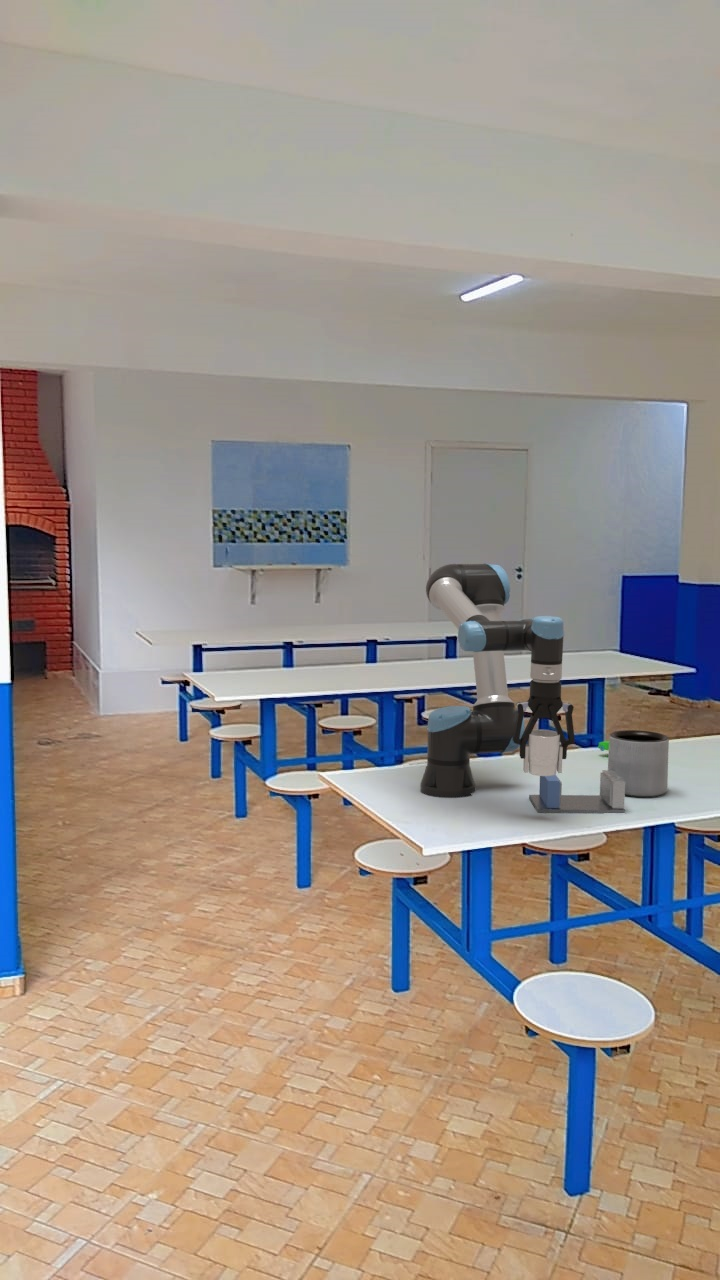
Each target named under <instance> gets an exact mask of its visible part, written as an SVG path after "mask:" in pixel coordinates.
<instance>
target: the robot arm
mask: <svg viewBox="0 0 720 1280" xmlns="http://www.w3.org/2000/svg"><path fill="white" fill-rule="evenodd" d="M427 579H428V580H426V581H427V582H426V585H425V593H426V597H427V599H428V601H429V602H430V604H431V605H432V606H433V607H434V608H435V609H438V610H440V611H442V612H443V613H444V614H445V616H446V617H447V618H448V619H449V620H450V622H451V623H452V624H453V625H454V627H456V628H457V630H458V632H457V639H458V643H459V647H460V649H461V650H462V651H464V652H472V657H473V665H474V667H473V668H474V676H475V677H474V678H475V679H474V680H475V688H476V697H477V699H476V702H474V703H473V704H472V710H471V708H470V707H469V706H466V705H450V706H445V707H440V708H439V707H438V708H436V709H434V710H433V711H431V712H430V713H429V714H428V721H427V726H426V727H427V728H426V730H427V752H426V753H427V759H426V760H427V761H426V763H427V764H426V765H425V769H424V773H423V776H422V777H421V781H420V793H421V794H423V795H426V796H428V797H434V798H441V799H442V798H443V799H444V798H445V799H457V798H466V797H471V796H473V794H474V793H475V792H476V782H475V778H474V776H473V773H472V769H471V765H470V758H471V755H474V754H476V755H477V754H493V753H495V754H496V753H498V754H503V753H509V752H514V751H516V750H518V749H519V758H520V759H521V760H522V759H523V772H524V773H526V774H529V762H528V758H529V746H528V739H529V734H531V732H532V730H534V728H535V726H536V724H537V722H538V721H539V719H551V721H552V723H553V726H554V729H555V731H556V732H557V734H558V735H560V742H559V743H560V744H559V754H558V762H557V770H556V773H558V774H563V773H562V772H563V760H566V759H567V756H568V754H567V753H568V747H569V746H571V745H575V743H576V741H575V731H574V730H575V729H574V722H573V711H574V705H573V704H572V703H570V702H568V703H567V702H563V700H562V682H561V681H560V680H562V678H563V677H562V676H563V651H564V636H565V630H564V620H563V619H562V618H561V617H559V616H553V615H551V616H550V615H543V616H542V615H538V616H535V617H534V618H533V619H532V618H520V619H518V620H501V613H502V612H503V611H504V610H505V605H506V604H507V603H508V602H509V599H510V595H511V594H510V592H511V585H510V584H511V583H510V579H509V576H508V574H507V572H506V570H505V569H504V568H503V567H502V566H501V565H499V564H489V563H470V564H469V563H467V564H466V563H460V564H459V563H457V564H456V563H448V564H446V565H445V564H444V565H443V566H440V567H439V568H437V569H435V570H434V571H433V572H432V573H431V574H430V575H429V578H427ZM508 651H509V652H511V651H514V652H515V651H516V652H517V651H519V652H521V651H529V652H530V653H531V654H530V672H529V673H530V676H529V677H530V679H531V680H530V682H529V685H530V686H529V697H528V700H526V701H525V702H519V701H518V702H516V706H515V701H513V700H512V698H510V697H509V692H508V683H507V682H508V681H507V673H506V671H507V670H506V664H505V663H506V662H505V654H504V653H505V652H508ZM527 708H529V709H530V711H531V714H530V717H529V719H528V722H527V724H525V717H524V715H525V714H524V713H525V712H526V711H527ZM561 708H562V710H563V712H564V714H565V723H566V732H567V733H566V734H567V738H566V735H564V731H563V727H562V726H561V723H560V720H559V717H558V715H557V714H558V712H559V711H560V710H561ZM525 725H526V726H525Z"/></svg>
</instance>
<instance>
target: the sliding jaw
mask: <svg viewBox="0 0 720 1280" xmlns="http://www.w3.org/2000/svg"><path fill="white" fill-rule="evenodd" d="M562 785H563V783H562V781H561V779H560V778H559V777H558V775H557V773H556V774H555V775H552V776H539V790H538V791H539V792H538V793H539V794H538V795H539V796H540V797H541V799H542V800H543V802H544V804H545V805H546V807H547V808H559V806H561V795H562V790H563V789H562Z"/></svg>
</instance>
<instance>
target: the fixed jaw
mask: <svg viewBox="0 0 720 1280" xmlns="http://www.w3.org/2000/svg"><path fill="white" fill-rule="evenodd" d="M599 777H600V778H599V779H600V782H599V795H600V796H601V797H602V798H603V799H604V800H605V801H606V803H607V804H608V805H609V806H611V808H612V809H625V801H626V800H625V797H626V795H625V781H624V780H623V779H622V778H621V777H620V776H619V775H618V774H617V773H616V772H615V771H614V770H608V769H605V770H603V769H602V771H601V772H600V776H599Z"/></svg>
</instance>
